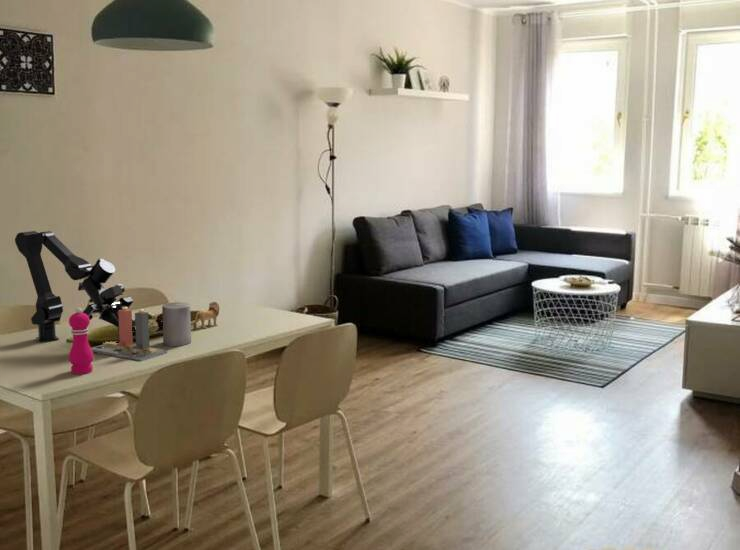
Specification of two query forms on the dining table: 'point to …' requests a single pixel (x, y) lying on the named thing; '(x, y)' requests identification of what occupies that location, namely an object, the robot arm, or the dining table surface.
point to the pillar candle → (176, 324)
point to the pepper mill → (80, 344)
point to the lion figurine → (207, 315)
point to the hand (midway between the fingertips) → (121, 327)
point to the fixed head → (141, 330)
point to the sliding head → (125, 327)
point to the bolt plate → (128, 351)
